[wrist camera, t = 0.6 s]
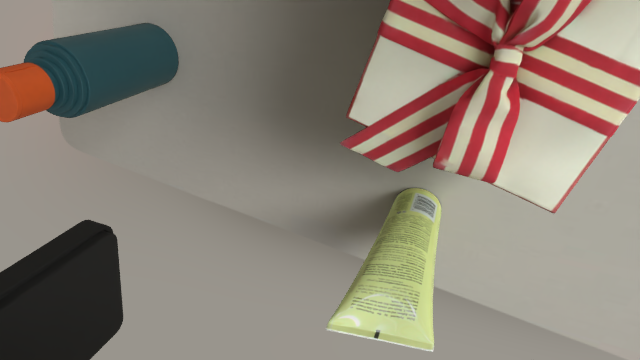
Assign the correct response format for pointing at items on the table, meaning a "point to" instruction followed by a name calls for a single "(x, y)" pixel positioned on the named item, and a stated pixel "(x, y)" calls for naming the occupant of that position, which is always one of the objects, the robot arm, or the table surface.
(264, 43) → the table surface
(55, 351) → the robot arm
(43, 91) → the cap
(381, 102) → the gift box
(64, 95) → the bottle
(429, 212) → the tube
